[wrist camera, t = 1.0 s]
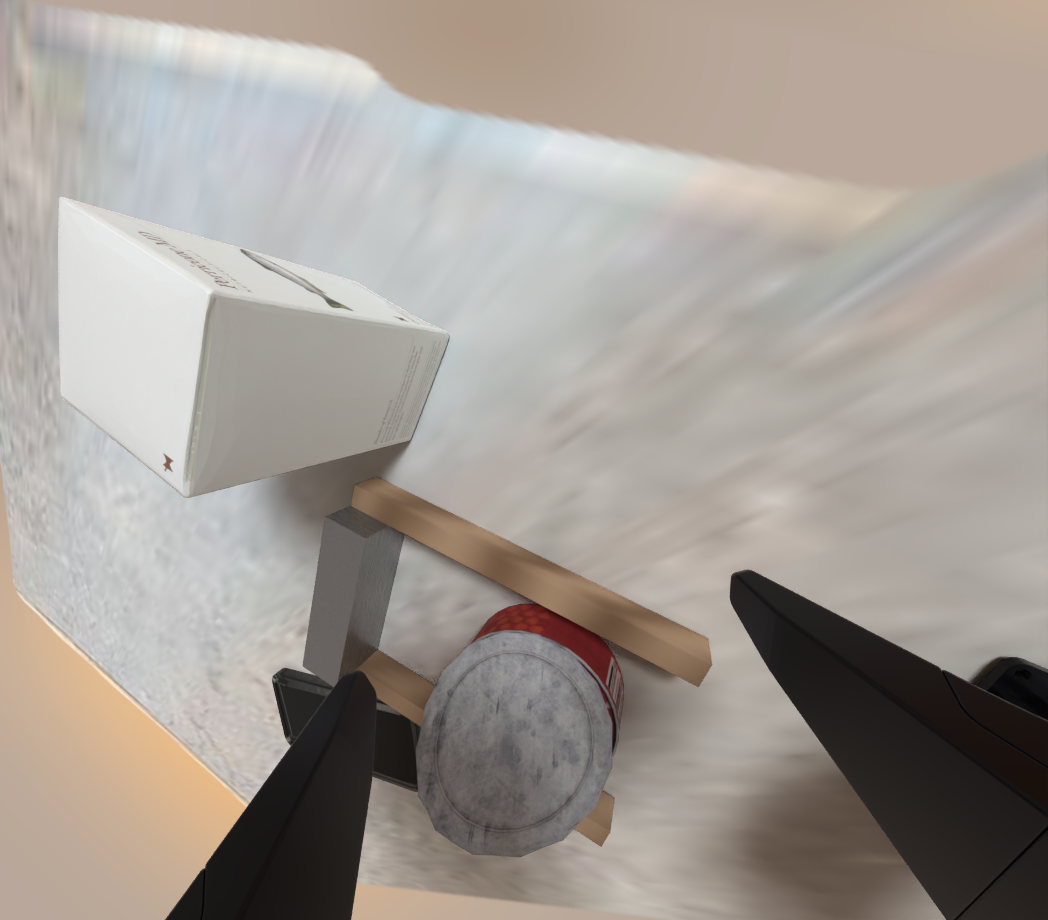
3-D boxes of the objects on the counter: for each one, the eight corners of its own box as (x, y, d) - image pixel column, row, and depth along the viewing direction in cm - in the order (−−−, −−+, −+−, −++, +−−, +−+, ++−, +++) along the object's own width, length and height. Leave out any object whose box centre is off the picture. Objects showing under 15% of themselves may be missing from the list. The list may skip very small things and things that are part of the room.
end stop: (408, 514, 26) (365, 538, 22) (377, 649, 30) (336, 688, 26) (372, 496, 27) (325, 516, 23) (346, 630, 30) (302, 665, 27)
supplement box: (455, 332, 22) (214, 290, 10) (411, 443, 25) (181, 509, 13) (356, 276, 23) (49, 185, 12) (325, 387, 26) (49, 400, 14)
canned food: (500, 607, 31) (394, 623, 23) (618, 586, 26) (535, 598, 18) (522, 781, 27) (402, 873, 19) (667, 797, 22) (588, 933, 14)
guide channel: (708, 638, 21) (712, 664, 19) (606, 812, 25) (601, 846, 24) (376, 476, 26) (354, 484, 24) (344, 644, 31) (323, 662, 29)
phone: (269, 671, 34) (412, 710, 29) (281, 662, 35) (421, 698, 30) (287, 747, 36) (425, 797, 30) (298, 736, 37) (434, 783, 31)
